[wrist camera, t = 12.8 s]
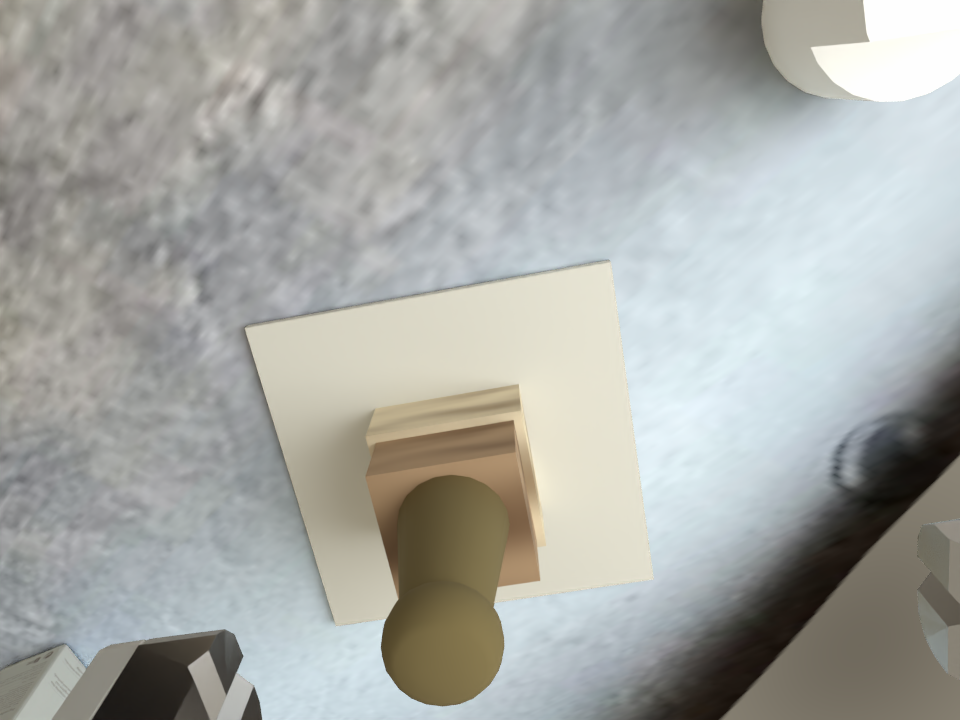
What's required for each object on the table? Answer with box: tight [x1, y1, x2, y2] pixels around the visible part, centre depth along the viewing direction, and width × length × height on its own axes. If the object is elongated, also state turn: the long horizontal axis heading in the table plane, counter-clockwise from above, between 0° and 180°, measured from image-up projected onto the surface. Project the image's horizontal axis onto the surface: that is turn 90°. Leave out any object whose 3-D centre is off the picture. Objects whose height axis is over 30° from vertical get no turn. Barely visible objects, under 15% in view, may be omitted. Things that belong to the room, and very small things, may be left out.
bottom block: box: [365, 384, 546, 547], centre depth 47 cm, size 9×9×4 cm
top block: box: [365, 420, 540, 600], centre depth 44 cm, size 8×8×4 cm
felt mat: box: [245, 260, 654, 626], centre depth 50 cm, size 22×22×1 cm
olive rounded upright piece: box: [381, 475, 510, 706], centre depth 37 cm, size 6×6×11 cm
